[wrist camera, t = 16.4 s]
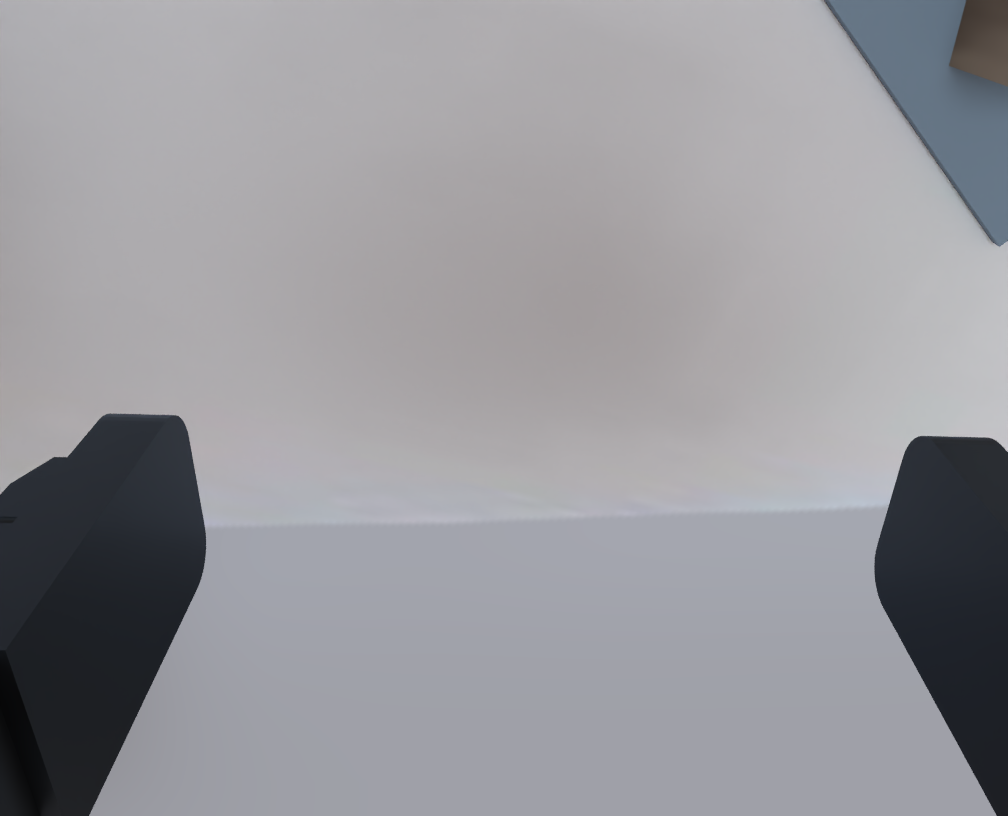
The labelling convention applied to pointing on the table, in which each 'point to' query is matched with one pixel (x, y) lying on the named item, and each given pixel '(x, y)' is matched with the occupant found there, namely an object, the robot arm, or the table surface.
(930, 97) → the mat
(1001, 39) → the walnut block
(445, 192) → the table surface
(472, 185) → the table surface
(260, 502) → the table surface
